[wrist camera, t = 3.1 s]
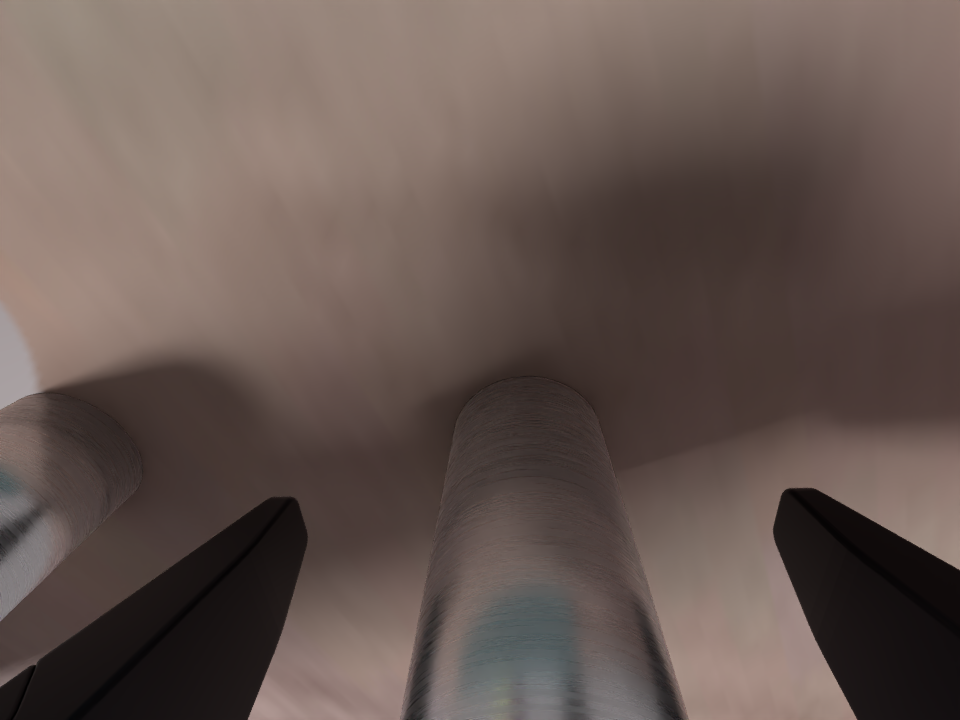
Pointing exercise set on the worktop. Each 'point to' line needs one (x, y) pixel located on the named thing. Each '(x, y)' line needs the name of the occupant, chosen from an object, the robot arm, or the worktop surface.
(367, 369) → the worktop surface
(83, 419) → the short steel pin
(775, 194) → the worktop surface
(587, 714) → the tall steel pin
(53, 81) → the worktop surface
